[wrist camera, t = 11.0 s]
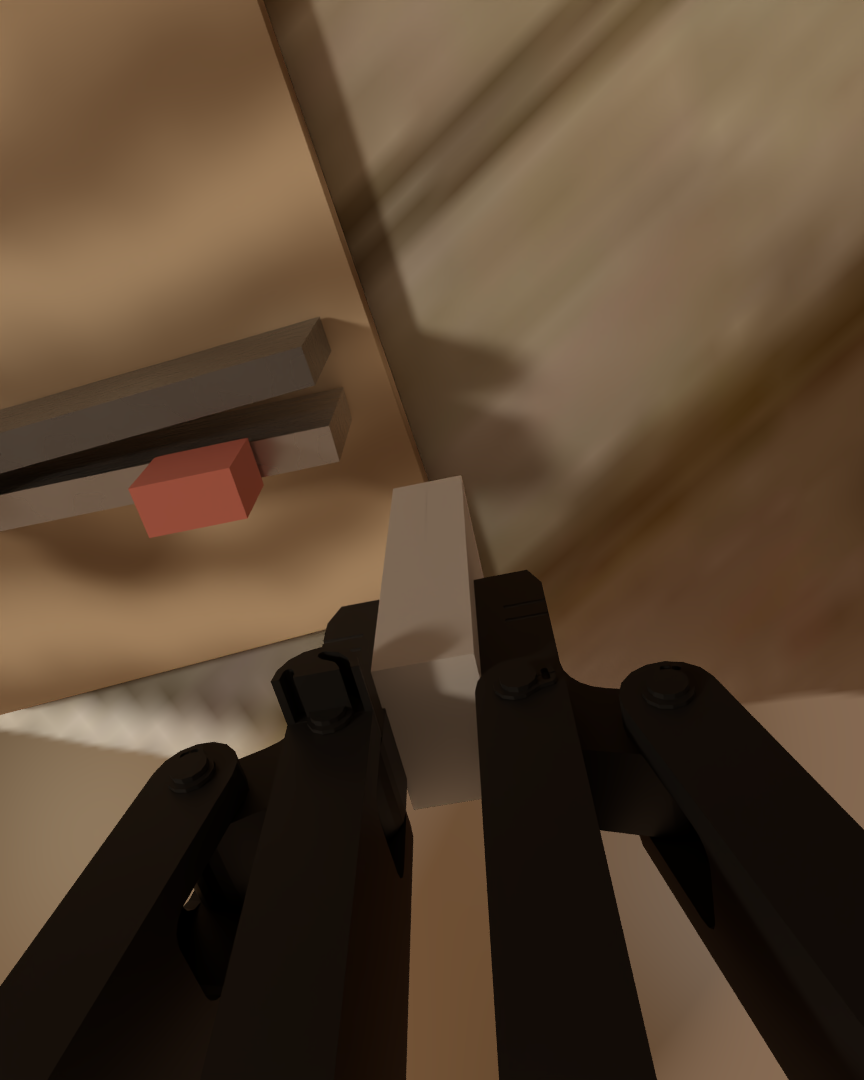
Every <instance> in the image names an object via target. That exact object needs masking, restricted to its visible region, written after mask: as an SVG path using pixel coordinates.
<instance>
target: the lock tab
mask: <svg viewBox="0 0 864 1080" xmlns="http://www.w3.org/2000/svg"><path fill="white" fill-rule="evenodd" d="M263 486H264V484H263V481H262V478H261V475H260V472H259V469H258V466H257V463H256V461H255V458H254V455H253V452H252V449H251V446H250V443H249V440H248V438H243V439H239V440H234V441H229V442H225V443H220V444H215V445H210V446H206V447H201V448H196V449H191V450H187V451H182V452H177V453H172V454H168V455H163V456H158V457H155V458H154V459H153V460H152V461H151V462H150V464H149V465H148V466H147V467H146V468H145V470H144V471H143V472H142V473H141V474H140V475H139V477H138V478H137V479H136V480H135V481H134V482H133V484H132V485H131V486H130V487H129V488H128V490H129V492H130V494H131V497H132V499H133V501H134V504H135V506H136V508H137V511H138V513H139V515H140V518H141V520H142V522H143V525H144V527H145V529H146V532H147V534H148V536H149V538H153V537H158V536H163V535H168V534H173V533H178V532H183V531H188V530H193V529H198V528H203V527H208V526H213V525H218V524H223V523H228V522H233V521H238V520H243V519H248V517H249V515H250V513H251V510H252V508H253V506H254V504H255V502H256V500H257V498H258V496H259V494H260V492H261V490H262V488H263Z"/></svg>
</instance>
